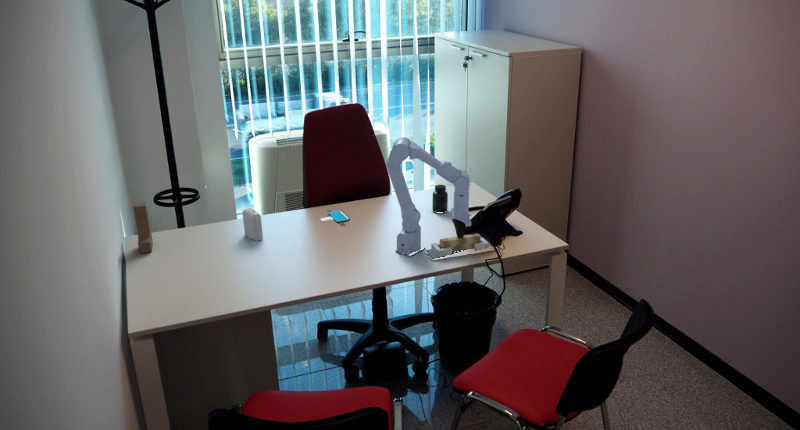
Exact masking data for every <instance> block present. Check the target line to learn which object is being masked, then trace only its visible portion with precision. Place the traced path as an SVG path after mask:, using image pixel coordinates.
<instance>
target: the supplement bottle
mask: <svg viewBox="0 0 800 430" xmlns="http://www.w3.org/2000/svg"><path fill="white" fill-rule="evenodd" d="M446 188H447V186H446V185H444V184H436V185H434V191H433V192H432V203H431V204H432V207H431V208H432V210H433V211H436V212H445V211H447V212H448V207H449V206H448V205H449V204H448V202H449V201H448V200H449V194H448V191H447V189H446ZM433 211H432V212H433Z"/></svg>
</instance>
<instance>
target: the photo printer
mask: <svg viewBox="0 0 800 430" xmlns="http://www.w3.org/2000/svg"><path fill="white" fill-rule="evenodd" d="M242 220H243V221H242V222H243V230H244V235H246V237H248V238H250V239H251V240H253V241H256V242H259V241H261V240H262V239H263V238H264V237H263V236H264V235H263V234H264V233H263V227H262V226H263V224H262V217H261V214H260V212H259V211H258V210H256V209H254V208H252V207H245V208H244V209H243V210H242Z"/></svg>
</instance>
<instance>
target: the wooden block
mask: <svg viewBox="0 0 800 430" xmlns="http://www.w3.org/2000/svg"><path fill="white" fill-rule="evenodd" d="M132 209H133V214H134V219H135V221H134V222H135V226H136V232H137V240H138V241H137V247H138V252H139V254H148V253H152V252H153V245H154V241H153V240H154V239H153V236H152V235H153V234H152V230H151V228H152V227H151V223H150V222H151V221H150V218H149V210H148V206H147V202H146V201H145V202H144V201H143V202H136V203H135V202H134V203H133V206H132Z"/></svg>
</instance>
